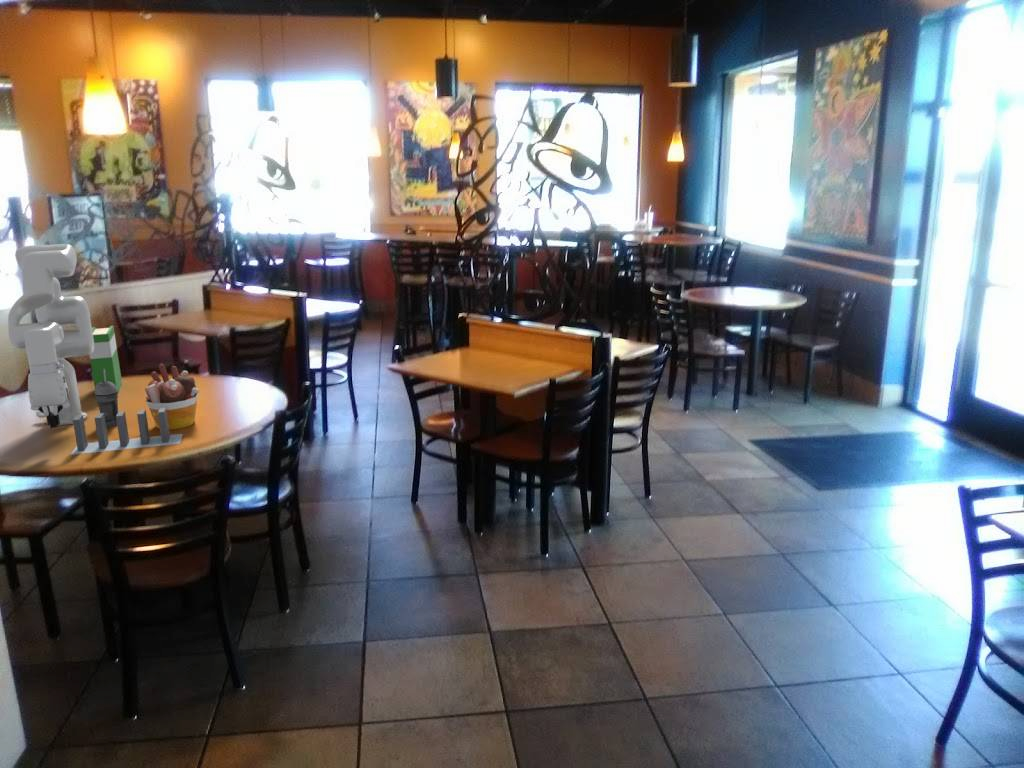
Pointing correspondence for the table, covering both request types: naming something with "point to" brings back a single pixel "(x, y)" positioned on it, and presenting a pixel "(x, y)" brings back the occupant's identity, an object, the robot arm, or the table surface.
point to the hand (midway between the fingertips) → (54, 426)
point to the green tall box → (105, 357)
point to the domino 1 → (80, 432)
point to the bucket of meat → (173, 398)
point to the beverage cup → (107, 401)
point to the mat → (129, 444)
